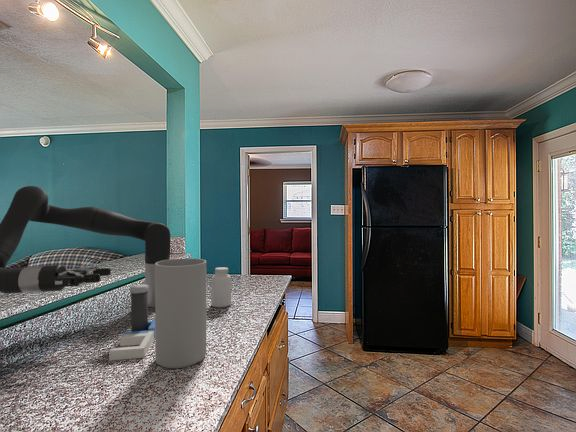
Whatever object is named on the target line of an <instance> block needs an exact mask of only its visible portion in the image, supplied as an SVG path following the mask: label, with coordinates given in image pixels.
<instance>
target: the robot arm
mask: <svg viewBox="0 0 576 432" xmlns="http://www.w3.org/2000/svg"><path fill="white" fill-rule="evenodd" d="M9 205H10V206H9V208H8V209H7V211H6V212H5V215H4V216H3V218H2V220H1V222H0V293H2V294H19V293H20V294H21V293H23V294H24V293H32V294H33V293H35V294H36V293H47V292H59V291H62V290H64V289H65V288H67V287H78V286H80V285H84V284H92V283H99V282H101V277H104V276H105V277H107V276H111V273H112V272H111V268H110V267H107V268H102V267H101V268H98V266H93V267H77V268H72V269H70V270H67V268H66V266H65V265H64V264H51V265H34V266H29V267H14V268H9V267H8V268H7V264H8V262H9V261H10V260H11V258H12V256H13V255H14V253H15V252H16V250H17V249H18V246H19V244H20V242H21V240H22V236H23V235H24V233H25V230H26V228H27V226H28V224H29V222H33V223H34V222H35V223H44V224H51V225H56V226H57V225H58V226H63V227H67V228H68V227H69V228H74V229H77V230H82V231H83V230H84V231H87V232H92V233H97V234H100V235H107V236H117V237H118V236H119V237H130V238H133V239H138V240H140V241H144V245H145V247H144V248H145V251H144V252H145V253H144V255H145V256H144V281H143V285H148V308H155V263H156V262H159V261H163V260H170V259H171V258H170V257H171V230H170V228H169V227H168V226H167V225H165V224H164V223H161V222H155V221H154V222H153V221H148V220H147V221H146V220H140V219H137V218H133V217H129V216H126V215H125V214H124V215H123V214H122V213H118V212H116V211H112V210H109V209H105V208H100V207H95V206H84V207H83V206H82V207H74V208H66V207H65V208H64V207H58V206H56V205H55V206H54V205H51V204H49V196H48V194H47V191H45V190H44V189H43V188H41V187H39V186H34V185H27V186H23V187H20V188H19V189H18V190H17V191H16V192H15V193H14V196H13V197H12V201H11V202H10V204H9ZM90 272H92V273H90Z"/></svg>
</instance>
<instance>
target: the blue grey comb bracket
mask: <svg viewBox="0 0 576 432" xmlns="http://www.w3.org/2000/svg"><path fill="white" fill-rule="evenodd" d="M154 339H155V319H152V320H148V330H147V331H133V332H131V331H124V332H123V334H121V336H120V337H119V346H120V347H113V348H110V349H109V351H108V352H109V354H108V356H109V357H108V358H109V359H108V360H109V361H110V362H111V361H121V360H131V359H132V360H134V359H144V358H145V357H146V355H147V353H148V351H149V349H150V347H151V345H152V344H153V342H154Z"/></svg>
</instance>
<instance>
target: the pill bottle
mask: <svg viewBox="0 0 576 432" xmlns="http://www.w3.org/2000/svg"><path fill="white" fill-rule="evenodd" d="M228 273H229V268H228V267H227V266H226V267H224V266H223V267H222V266H221V267H215V269H214V274H213V275H212V276H211V281H210V283H211V284H210V287H211V289H210V292H211V294H210V302H211V303H210V304H211V307H213V308H226V307H229V306H231V305H232V277H231V275H230V274H228Z"/></svg>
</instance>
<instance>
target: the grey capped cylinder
mask: <svg viewBox="0 0 576 432" xmlns="http://www.w3.org/2000/svg"><path fill="white" fill-rule="evenodd" d="M129 288H130V289H129V290H130V291H129V292H130V327H131V328H130V332H133V331H147V330H148V321H149V320H148V319H149V314H148V313H149V312H148V311H149V310H148V309H149V307H148V285H144V284H134V285H131V286H130V287H129Z"/></svg>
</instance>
